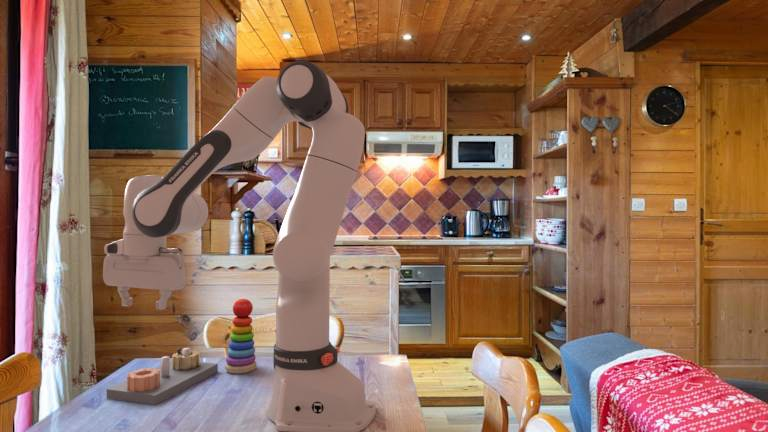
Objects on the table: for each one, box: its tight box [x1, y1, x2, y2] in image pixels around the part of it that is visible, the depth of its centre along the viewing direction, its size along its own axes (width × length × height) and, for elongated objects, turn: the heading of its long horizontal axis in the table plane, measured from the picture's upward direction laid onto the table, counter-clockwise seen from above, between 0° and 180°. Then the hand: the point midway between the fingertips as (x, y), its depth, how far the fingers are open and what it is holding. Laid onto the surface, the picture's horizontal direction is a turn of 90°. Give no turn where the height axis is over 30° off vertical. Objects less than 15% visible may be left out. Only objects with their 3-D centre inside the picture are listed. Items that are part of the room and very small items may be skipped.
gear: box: [171, 347, 201, 370], centre depth 119 cm, size 7×7×4 cm
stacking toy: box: [224, 298, 258, 375], centre depth 122 cm, size 8×8×19 cm
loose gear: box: [126, 367, 160, 392], centre depth 105 cm, size 7×7×3 cm
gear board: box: [106, 347, 219, 406], centre depth 112 cm, size 13×22×6 cm, turn 164°
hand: (143, 307), depth 105 cm, fingers open, 8 cm apart
